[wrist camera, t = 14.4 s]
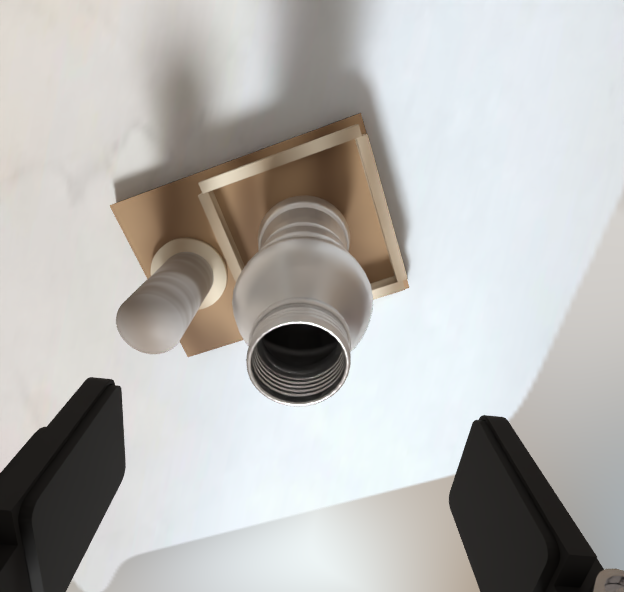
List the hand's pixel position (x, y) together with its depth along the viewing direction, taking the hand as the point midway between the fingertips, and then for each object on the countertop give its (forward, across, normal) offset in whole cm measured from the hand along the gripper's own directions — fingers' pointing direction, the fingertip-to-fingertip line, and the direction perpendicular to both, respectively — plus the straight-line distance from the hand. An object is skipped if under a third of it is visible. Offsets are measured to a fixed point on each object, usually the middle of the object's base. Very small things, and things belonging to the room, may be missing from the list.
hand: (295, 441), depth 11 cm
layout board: (+25, +3, +2) cm, 26 cm away
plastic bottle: (+24, 0, 0) cm, 24 cm away
